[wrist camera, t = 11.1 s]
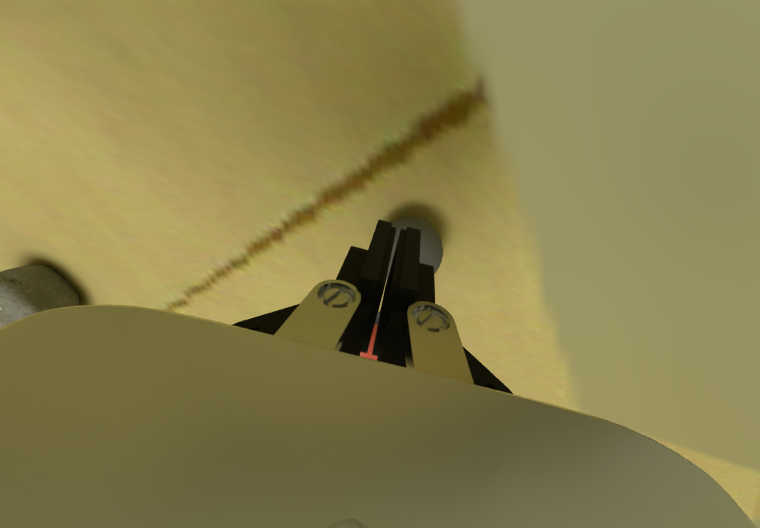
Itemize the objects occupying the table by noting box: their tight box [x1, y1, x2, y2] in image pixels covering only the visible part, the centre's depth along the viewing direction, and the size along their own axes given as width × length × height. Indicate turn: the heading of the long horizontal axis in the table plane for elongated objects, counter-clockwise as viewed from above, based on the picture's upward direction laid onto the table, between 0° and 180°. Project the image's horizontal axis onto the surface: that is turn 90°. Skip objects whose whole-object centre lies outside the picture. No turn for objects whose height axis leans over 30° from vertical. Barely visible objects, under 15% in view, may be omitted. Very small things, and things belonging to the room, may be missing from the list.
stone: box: [0, 265, 80, 328], centre depth 35 cm, size 9×9×10 cm
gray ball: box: [387, 217, 443, 279], centre depth 24 cm, size 6×6×6 cm
